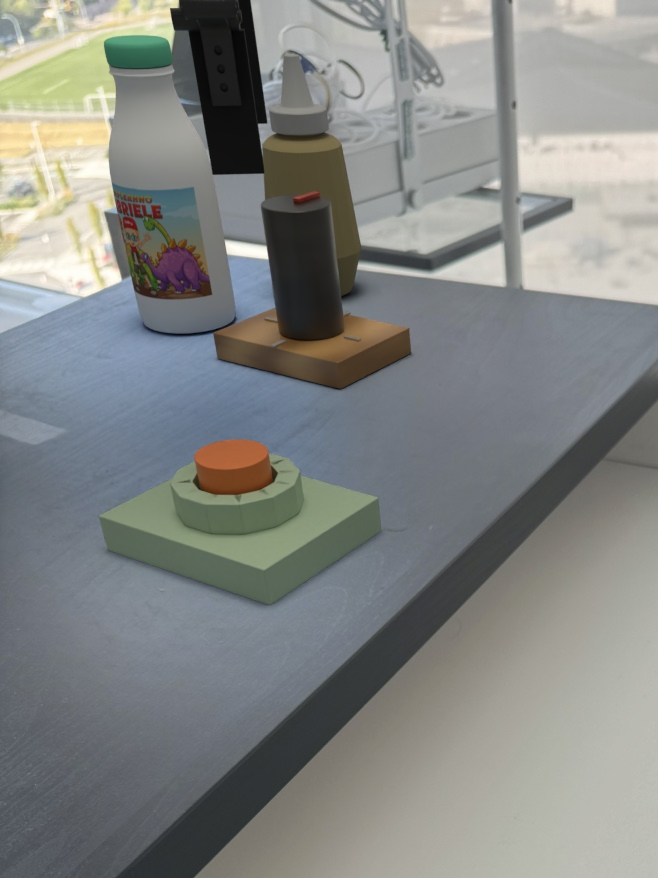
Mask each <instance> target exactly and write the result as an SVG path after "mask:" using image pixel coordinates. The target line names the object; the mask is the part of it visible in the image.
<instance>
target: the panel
mask: <svg viewBox="0 0 658 878" xmlns="http://www.w3.org/2000/svg"><path fill="white" fill-rule="evenodd" d="M351 314H352V313H351V312H350V311H344V312H343V318H344V327H345V328H344V330H343V332H342V333H340V334H338V335H336V336H333V337H330V338H325V339H319V340H298V339H292V338H288V337H285V336H283V335H282V334H281V333H280V332H279V328H278V322H277V315H276V308H275V307H273V308H271V309H270V308H269V309H268V310H265V311H263V312H261V313H258V314H256V315H253V316H251V317H248V318H245V319H244V320H241V321H239V322H236V323H234V324H232V325H229V326H225V327H224V328H221V329H219V330H216V331H214V332H212V335H213V342H214V346H215V347H214V348H215V351H216V352H215V353H216V357H217V359H218V360H222V361H226V362H230V363H234V364H238V365H242V366H246V367H250V368H255V369H259V370H263V371H265V372H266V371H267V372H269V373H274V374H279V375H282V376H286V377H290V378H294V379H299V380H302V381H307V382H311V383H315V384H319V385H322V386H326V387H330V388H334V389H339V390H341V389H343V388H345V387H348V386H350V385H351V384H354V383H356V382H357V381H360V380H362V379H363V378H365V377H367V376H369V375H372V374H373V373H376V372H377V371H379V370H381V369H384V368H385V367H386V366H388V365H390V364H393V363H394V362H397V361H399V360H400V359H402V358H405V357H407V356H409V355H411V354H412V348H411V346H412V345H411V334H410V328H409V327H407V326H401V325H397V324H393V323H390V322H389V323H388V322H383V321H379V320H374V319H371V318H365V317H360V316H356V315H351Z"/></svg>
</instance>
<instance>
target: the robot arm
mask: <svg viewBox="0 0 658 878" xmlns="http://www.w3.org/2000/svg"><path fill="white" fill-rule="evenodd" d="M178 3H179V7H169V12H170V17H171V23H172V27H173V31H174V32H175V31H178V32H179V31H180V32H181V31H183V32H184V31H186V32H187V31H188V37H189V43H190V50H191V55H192V61H193V68H194V73H195V78H196V79H195V80H196V84H197V85H196V86H197V91H198V97H199V104H200V108H201V109H200V110H201V115H202V121H203V127H204V132H205V139H206V144H207V149H208V151H207V152H208V158H209V162H210V165H211V169H212V174H213V176H218V175H219V176H223V175H225V176H227V175H264V173H265V170H264V163H263V151H262V144H261V143H262V142H261V136H260V129H259V125H261V124H262V125H264V124H265V125H267V124H268V116H267V107H266V102H265V101H266V100H265V95H264V87H263V79H262V72H261V65H260V58H259V49H258V43H257V37H256V30H255V23H254V15H253V8H252V7H253V6H252V1H251V0H178Z"/></svg>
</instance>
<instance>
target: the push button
mask: <svg viewBox="0 0 658 878" xmlns="http://www.w3.org/2000/svg"><path fill="white" fill-rule="evenodd" d="M269 453H270V452H269V449H268V448H267V446H266V445H264V444H263V443H261V442H258V441H256V440H250V439H243V438H242V439H240V438H239V439H235V438H234V439H225V440H219V441H215V442H212V443H207V444H206V445H204V446H202V447H200V448H199V449H197V451H196V452H195V454H194V456H193V459H194V460H193V461H195V465H196V470H197V474H198V479H199V484H200V488H201V490H202V491H204V492H208V493H211V494H214V495H240V494H245V493H249V492H254V491H259V490H261V489H263V488H265V487H267V486H268V485H270V484H272V482H273V477H272V471H271V464H270V458H269Z"/></svg>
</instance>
